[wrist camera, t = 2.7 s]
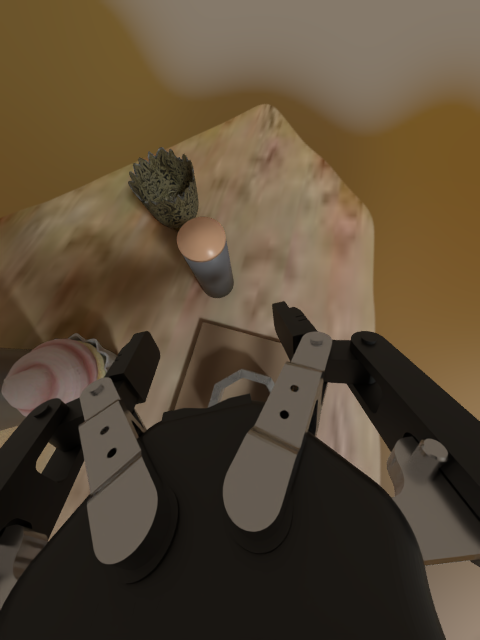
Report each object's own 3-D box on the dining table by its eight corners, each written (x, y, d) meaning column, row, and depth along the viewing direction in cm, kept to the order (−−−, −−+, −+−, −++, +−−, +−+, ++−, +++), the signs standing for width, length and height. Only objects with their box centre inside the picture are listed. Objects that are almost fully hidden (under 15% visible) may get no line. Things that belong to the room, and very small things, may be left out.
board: (162, 452, 23) (158, 456, 22) (204, 323, 26) (203, 321, 25) (298, 499, 21) (300, 506, 20) (324, 356, 24) (328, 355, 23)
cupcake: (120, 326, 26) (45, 304, 16) (147, 389, 24) (80, 406, 14) (56, 360, 26) (-63, 359, 16) (78, 428, 24) (-42, 474, 14)
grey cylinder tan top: (198, 293, 27) (169, 253, 17) (207, 265, 28) (186, 212, 18) (228, 301, 26) (217, 265, 17) (237, 272, 27) (231, 222, 17)
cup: (217, 215, 29) (205, 162, 22) (189, 253, 28) (167, 211, 20) (177, 195, 31) (153, 138, 23) (149, 231, 29) (114, 183, 22)
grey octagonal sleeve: (205, 428, 22) (197, 440, 19) (224, 362, 24) (220, 362, 20) (270, 450, 21) (275, 466, 18) (286, 380, 23) (292, 383, 19)
